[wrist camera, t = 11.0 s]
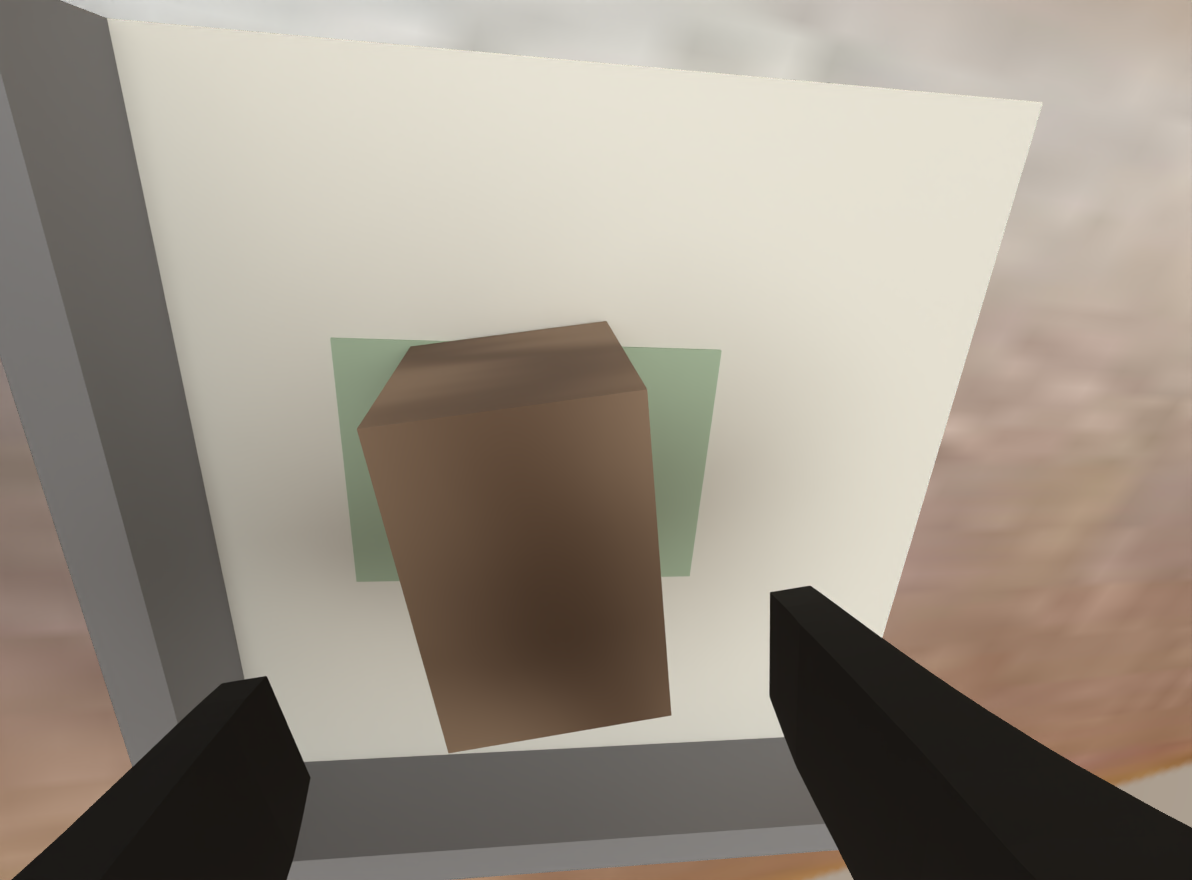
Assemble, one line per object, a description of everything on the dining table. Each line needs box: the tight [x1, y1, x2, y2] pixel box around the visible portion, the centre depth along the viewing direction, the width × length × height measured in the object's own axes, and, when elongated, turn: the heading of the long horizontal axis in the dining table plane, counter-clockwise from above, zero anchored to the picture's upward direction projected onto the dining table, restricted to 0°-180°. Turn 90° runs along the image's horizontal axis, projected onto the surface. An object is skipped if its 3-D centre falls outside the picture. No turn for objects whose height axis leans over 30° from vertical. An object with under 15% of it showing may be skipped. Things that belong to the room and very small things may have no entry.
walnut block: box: [357, 321, 671, 753], centre depth 13 cm, size 4×7×5 cm, turn 6°
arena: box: [0, 0, 1043, 880], centre depth 15 cm, size 20×20×4 cm
